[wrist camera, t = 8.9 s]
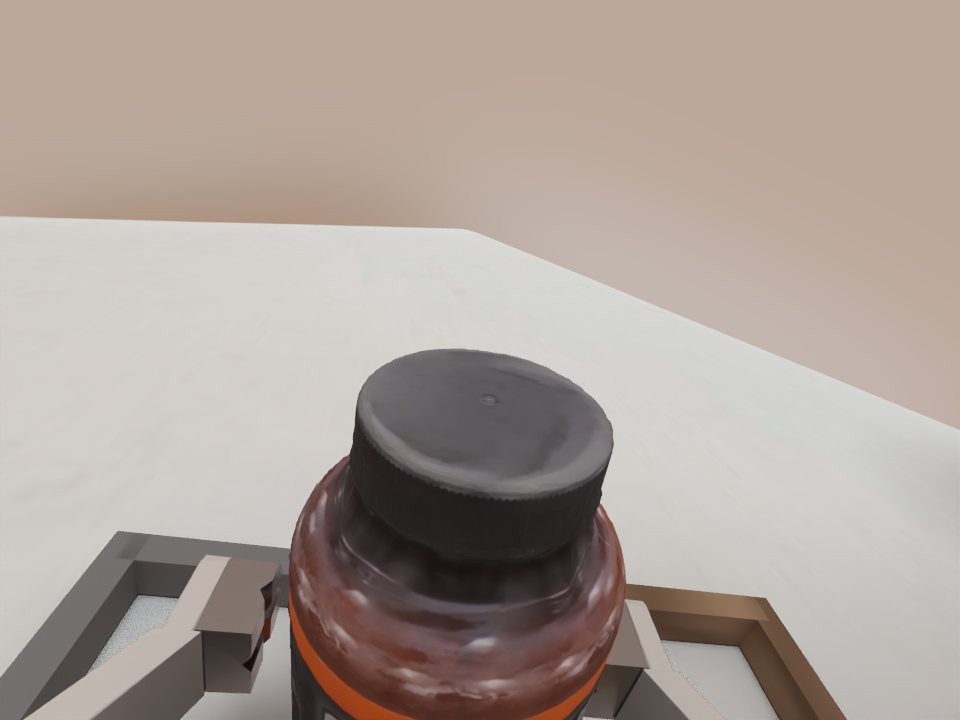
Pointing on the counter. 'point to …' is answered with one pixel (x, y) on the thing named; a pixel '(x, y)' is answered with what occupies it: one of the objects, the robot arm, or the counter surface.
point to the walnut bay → (743, 643)
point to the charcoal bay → (111, 610)
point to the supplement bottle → (458, 550)
